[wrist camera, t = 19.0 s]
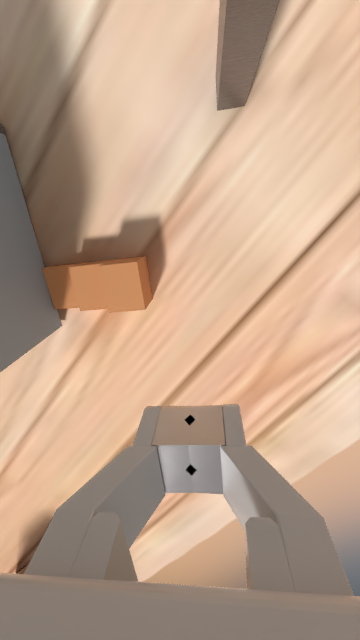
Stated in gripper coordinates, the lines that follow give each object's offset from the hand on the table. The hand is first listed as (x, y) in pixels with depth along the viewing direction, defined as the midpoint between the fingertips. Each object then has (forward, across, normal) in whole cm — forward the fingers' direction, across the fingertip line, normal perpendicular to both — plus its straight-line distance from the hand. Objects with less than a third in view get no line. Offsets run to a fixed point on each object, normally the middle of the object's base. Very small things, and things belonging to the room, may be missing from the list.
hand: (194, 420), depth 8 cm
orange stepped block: (+22, +12, 0) cm, 25 cm away
